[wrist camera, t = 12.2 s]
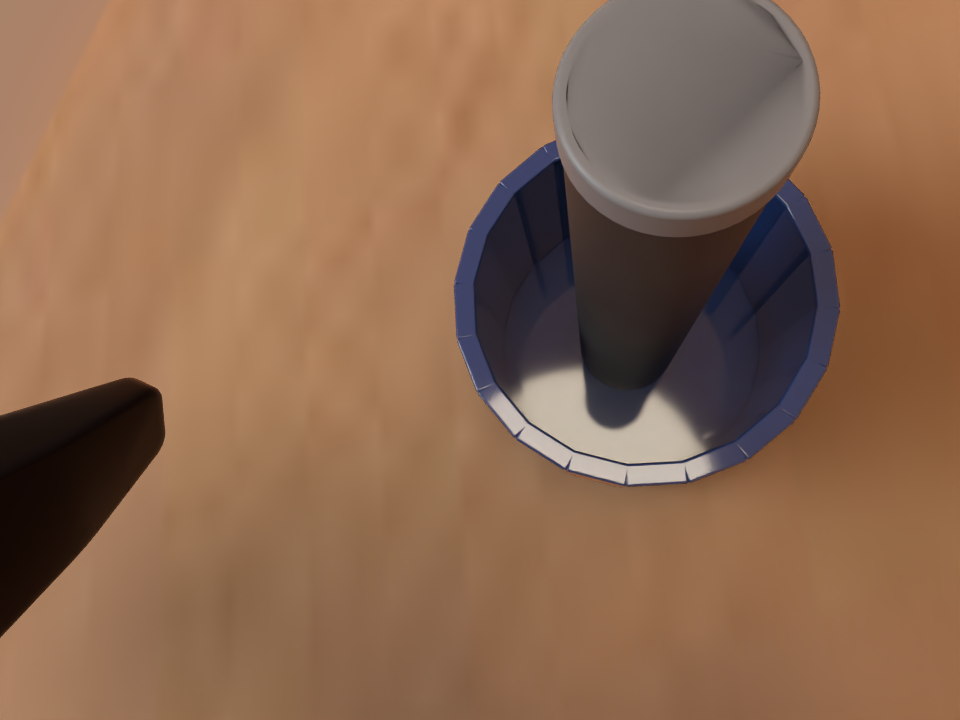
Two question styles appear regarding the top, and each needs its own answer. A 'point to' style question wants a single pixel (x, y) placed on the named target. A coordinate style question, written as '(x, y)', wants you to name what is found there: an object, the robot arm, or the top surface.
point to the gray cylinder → (671, 162)
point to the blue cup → (693, 370)
